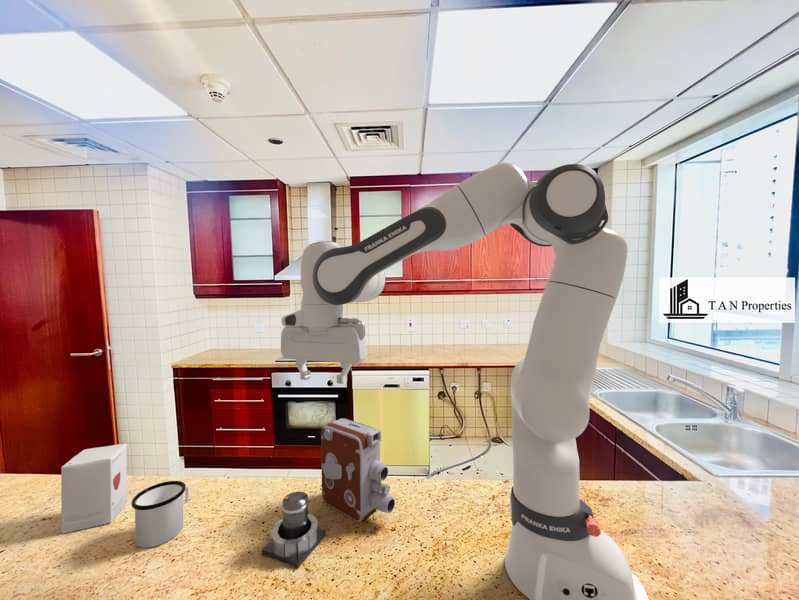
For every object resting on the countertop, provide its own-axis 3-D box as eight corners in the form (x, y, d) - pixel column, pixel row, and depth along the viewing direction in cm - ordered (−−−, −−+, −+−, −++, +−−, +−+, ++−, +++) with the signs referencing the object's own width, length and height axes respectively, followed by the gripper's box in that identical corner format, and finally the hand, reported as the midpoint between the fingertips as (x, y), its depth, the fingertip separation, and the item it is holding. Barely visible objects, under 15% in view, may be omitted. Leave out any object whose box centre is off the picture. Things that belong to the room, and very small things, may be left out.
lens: (311, 528, 68) (310, 489, 69) (304, 546, 63) (304, 504, 64) (287, 529, 68) (286, 490, 69) (278, 547, 63) (278, 505, 63)
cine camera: (375, 540, 66) (374, 445, 66) (316, 504, 78) (315, 424, 78) (401, 515, 74) (400, 430, 73) (344, 486, 85) (343, 413, 85)
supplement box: (112, 523, 72) (110, 458, 72) (60, 535, 69) (58, 467, 69) (129, 500, 80) (128, 442, 80) (83, 509, 77) (82, 448, 77)
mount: (326, 534, 68) (325, 517, 68) (298, 568, 59) (297, 548, 59) (292, 524, 71) (292, 507, 71) (261, 554, 63) (261, 535, 63)
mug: (158, 554, 63) (157, 509, 63) (119, 548, 65) (119, 504, 65) (205, 513, 75) (204, 476, 75) (171, 509, 77) (170, 472, 77)
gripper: (371, 317, 67) (372, 381, 67) (295, 316, 75) (295, 374, 75) (357, 319, 61) (358, 389, 62) (275, 318, 69) (276, 380, 69)
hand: (323, 381), depth 68 cm, fingers open, 8 cm apart
